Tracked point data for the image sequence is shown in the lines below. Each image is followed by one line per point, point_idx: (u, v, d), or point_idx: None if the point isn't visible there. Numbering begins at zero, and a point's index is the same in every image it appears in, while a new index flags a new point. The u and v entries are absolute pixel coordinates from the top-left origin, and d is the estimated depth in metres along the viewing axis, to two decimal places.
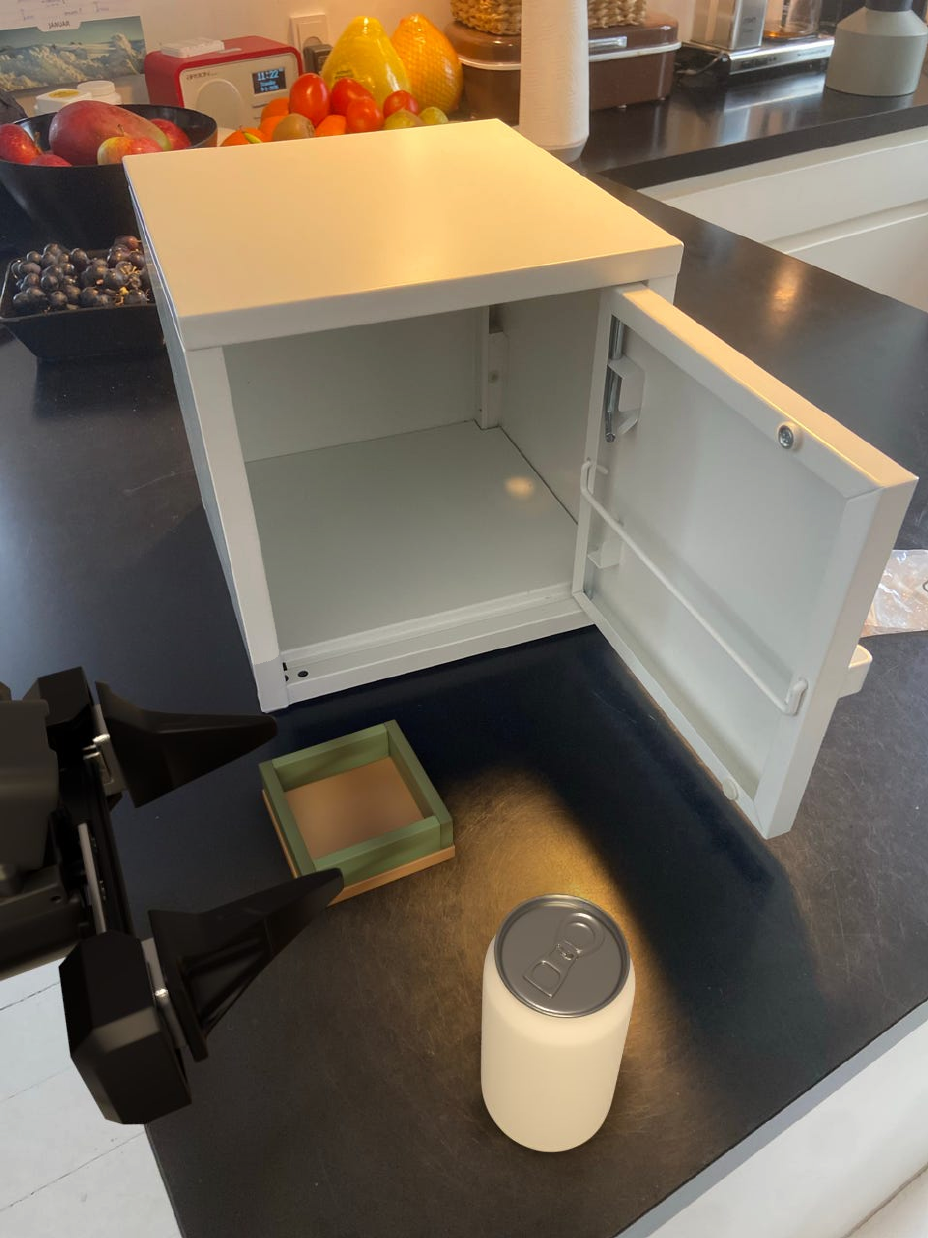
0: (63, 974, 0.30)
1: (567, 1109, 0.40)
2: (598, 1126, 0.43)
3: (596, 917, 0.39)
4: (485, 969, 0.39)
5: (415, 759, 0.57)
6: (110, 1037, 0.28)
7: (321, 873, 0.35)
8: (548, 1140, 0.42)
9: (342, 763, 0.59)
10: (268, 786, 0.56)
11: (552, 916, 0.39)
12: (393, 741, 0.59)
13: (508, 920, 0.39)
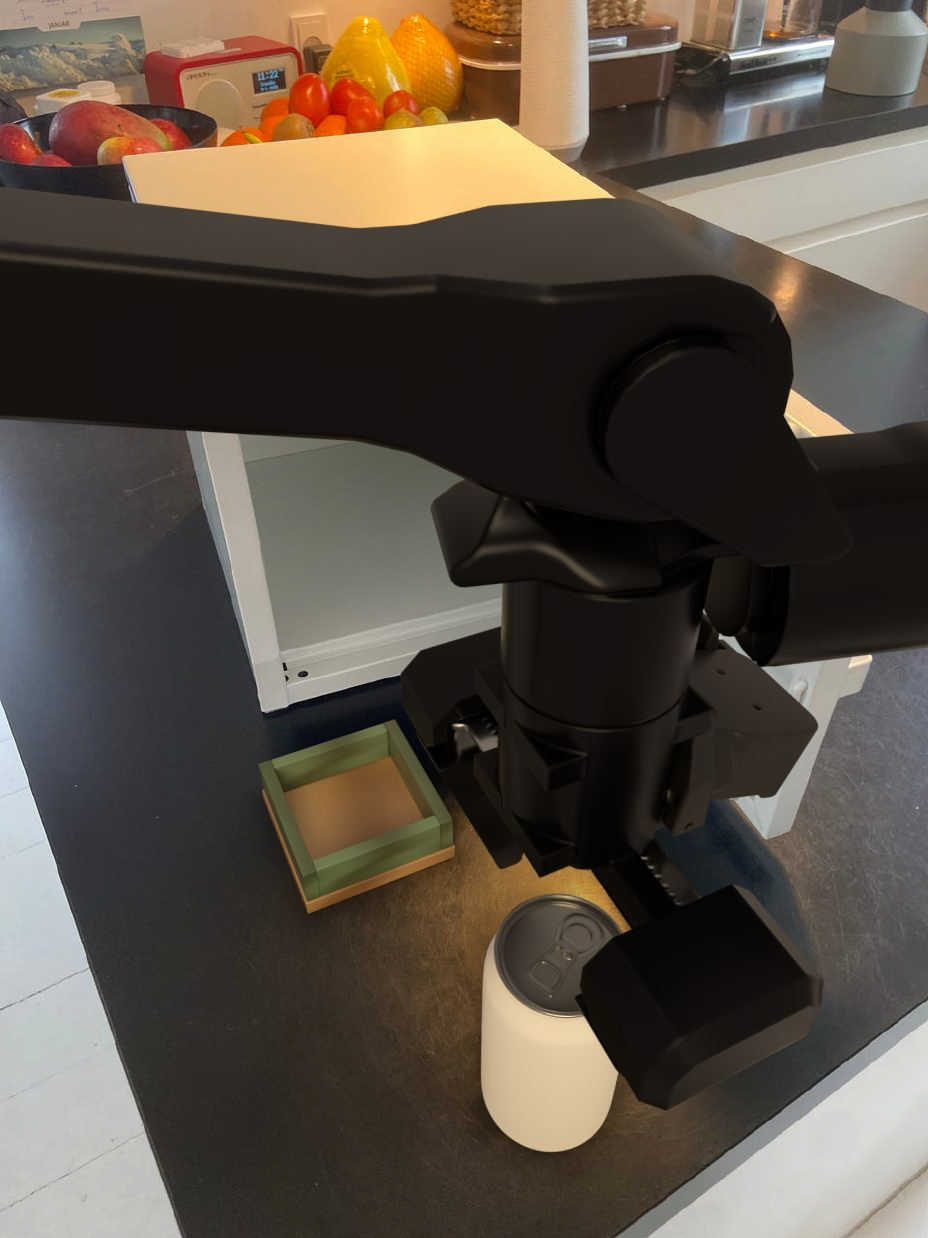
0: (745, 897, 0.28)
1: (567, 1109, 0.40)
2: (598, 1126, 0.43)
3: (596, 917, 0.39)
4: (485, 969, 0.39)
5: (415, 759, 0.57)
6: None
7: None
8: (548, 1140, 0.42)
9: (342, 763, 0.59)
10: (268, 786, 0.56)
11: (552, 916, 0.39)
12: (393, 741, 0.59)
13: (508, 920, 0.39)
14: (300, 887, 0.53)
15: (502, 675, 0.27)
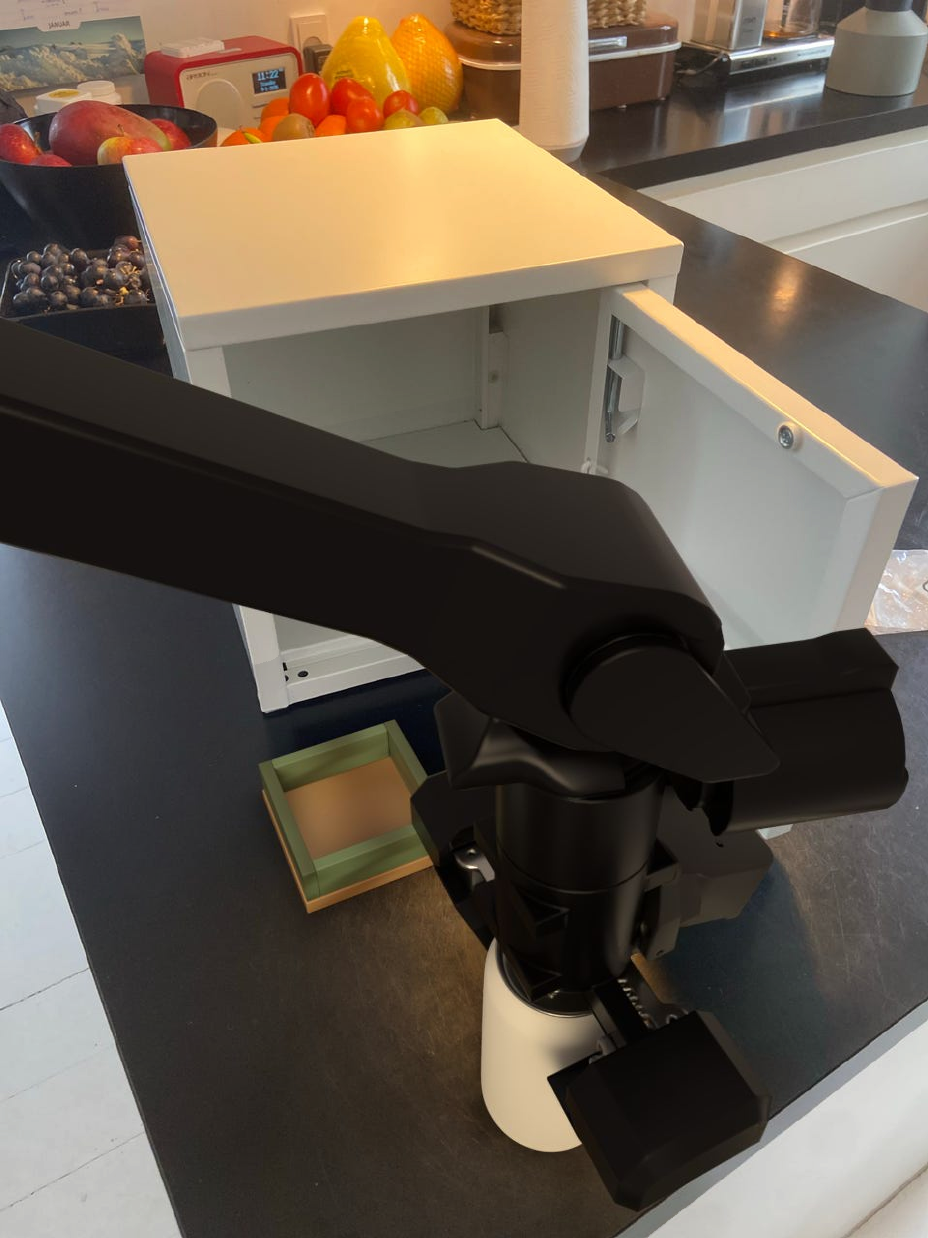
0: (706, 1021, 0.33)
1: None
2: None
3: None
4: (486, 969, 0.39)
5: (415, 759, 0.57)
6: None
7: None
8: (548, 1140, 0.42)
9: (342, 763, 0.59)
10: (268, 786, 0.56)
11: None
12: (393, 741, 0.59)
13: None
14: (300, 887, 0.53)
15: (496, 837, 0.32)
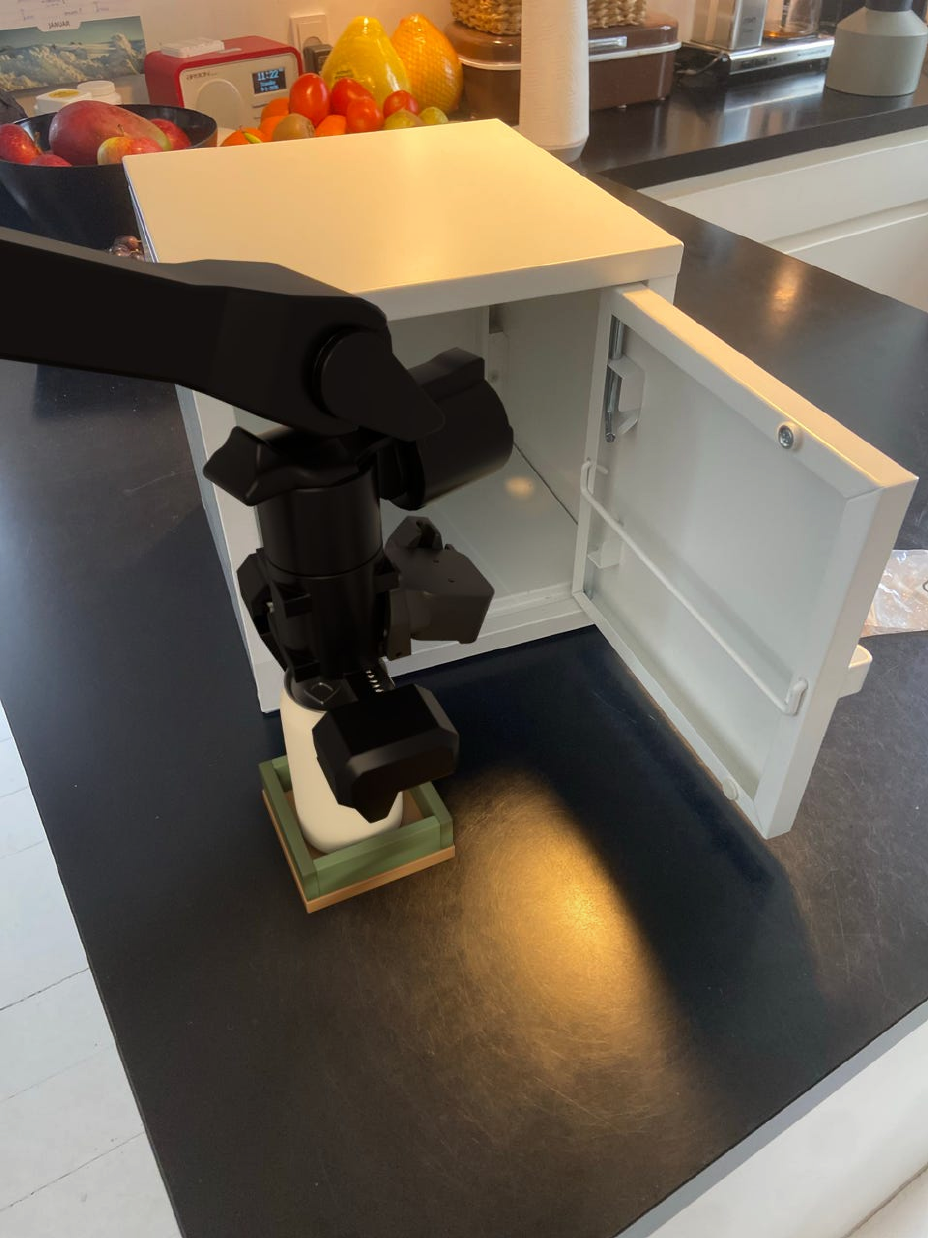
0: (419, 690, 0.44)
1: (347, 808, 0.51)
2: None
3: None
4: (281, 693, 0.50)
5: None
6: (456, 746, 0.43)
7: None
8: (340, 843, 0.53)
9: None
10: (268, 786, 0.56)
11: None
12: None
13: None
14: (300, 887, 0.53)
15: None
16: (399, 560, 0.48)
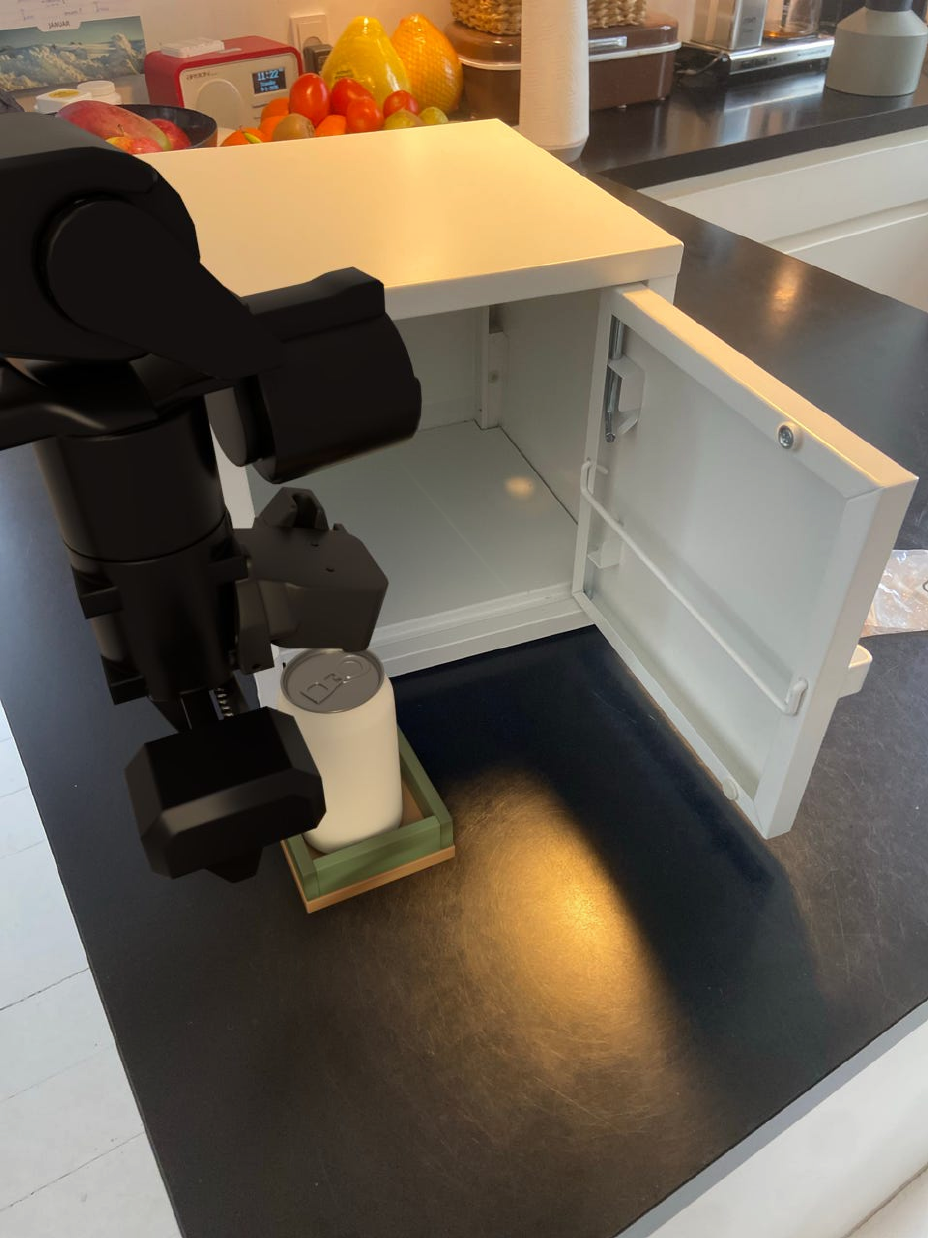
0: (274, 716, 0.33)
1: (346, 808, 0.51)
2: None
3: (366, 658, 0.51)
4: (278, 694, 0.50)
5: (415, 759, 0.57)
6: (317, 793, 0.32)
7: None
8: (339, 843, 0.53)
9: None
10: None
11: (332, 657, 0.51)
12: None
13: (297, 658, 0.51)
14: (300, 887, 0.53)
15: None
16: (262, 543, 0.37)
